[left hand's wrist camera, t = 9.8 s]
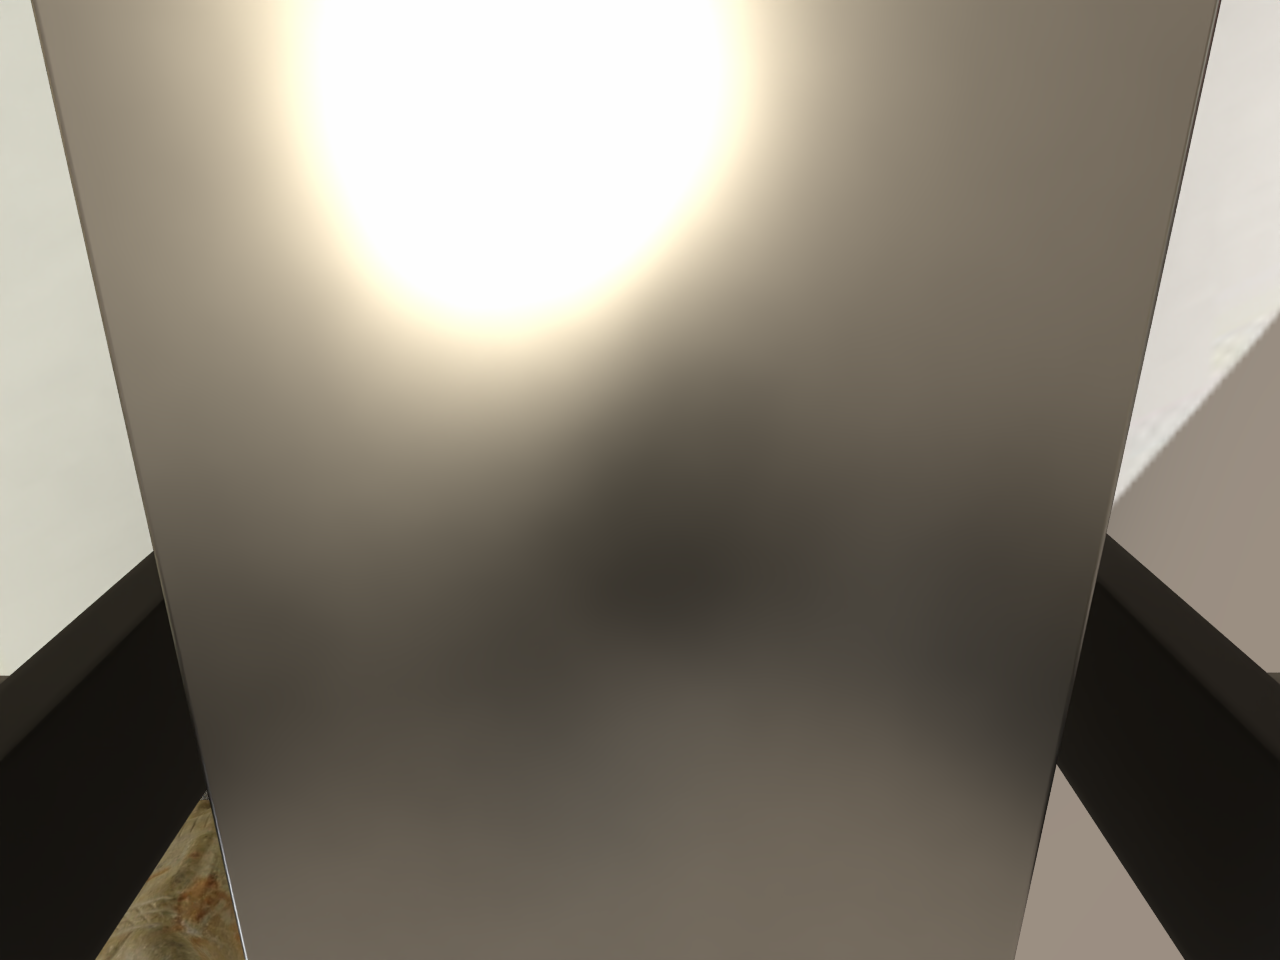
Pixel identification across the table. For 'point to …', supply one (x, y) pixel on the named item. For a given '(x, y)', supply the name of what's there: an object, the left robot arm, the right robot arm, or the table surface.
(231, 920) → the sculpture
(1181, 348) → the table surface
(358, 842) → the box
